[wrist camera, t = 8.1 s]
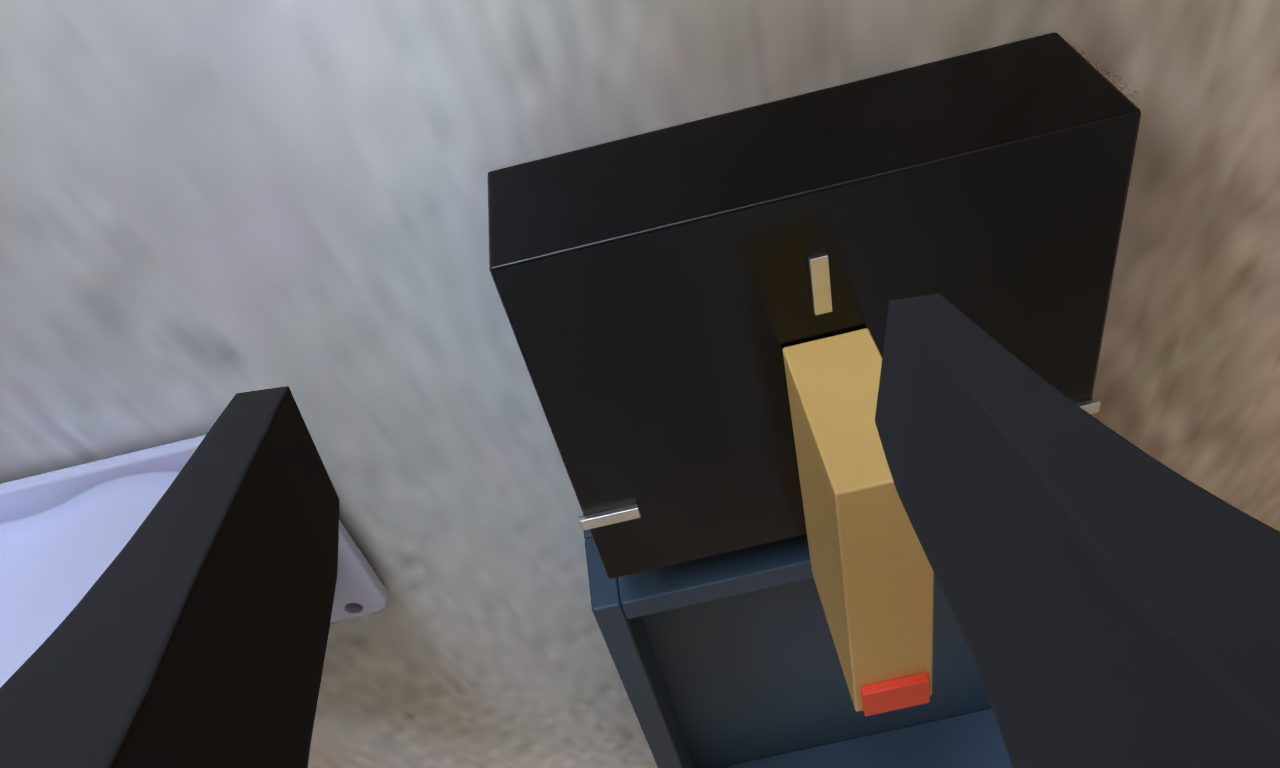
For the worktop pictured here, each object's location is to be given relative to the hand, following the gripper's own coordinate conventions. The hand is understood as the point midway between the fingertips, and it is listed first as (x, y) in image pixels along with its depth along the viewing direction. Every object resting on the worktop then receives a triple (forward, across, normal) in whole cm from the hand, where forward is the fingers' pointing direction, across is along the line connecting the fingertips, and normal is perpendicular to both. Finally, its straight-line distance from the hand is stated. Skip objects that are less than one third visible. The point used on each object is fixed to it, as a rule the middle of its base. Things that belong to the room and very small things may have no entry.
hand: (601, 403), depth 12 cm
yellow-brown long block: (+6, -5, +9) cm, 12 cm away
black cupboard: (+10, -5, +8) cm, 14 cm away
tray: (+10, -7, +21) cm, 24 cm away
